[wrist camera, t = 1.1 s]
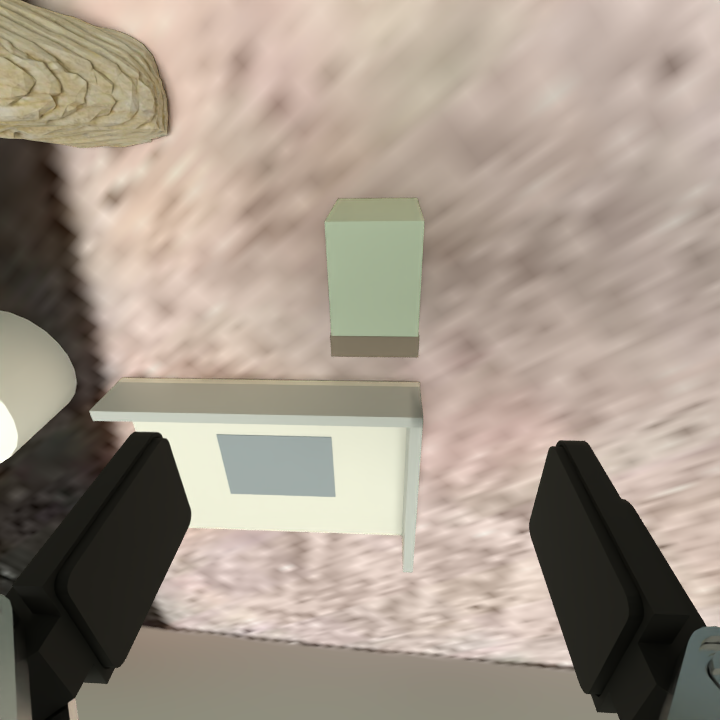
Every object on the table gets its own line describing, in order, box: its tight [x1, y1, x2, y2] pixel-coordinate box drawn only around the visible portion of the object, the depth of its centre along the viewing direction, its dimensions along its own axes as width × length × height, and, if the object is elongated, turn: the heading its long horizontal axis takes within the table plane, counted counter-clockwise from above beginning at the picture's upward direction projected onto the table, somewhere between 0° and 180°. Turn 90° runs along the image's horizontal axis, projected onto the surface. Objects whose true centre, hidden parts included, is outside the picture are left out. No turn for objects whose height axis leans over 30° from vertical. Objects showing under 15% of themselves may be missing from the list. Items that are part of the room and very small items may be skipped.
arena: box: [89, 378, 423, 572], centre depth 34 cm, size 22×16×4 cm
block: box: [325, 198, 424, 357], centre depth 24 cm, size 5×7×6 cm, turn 1°
